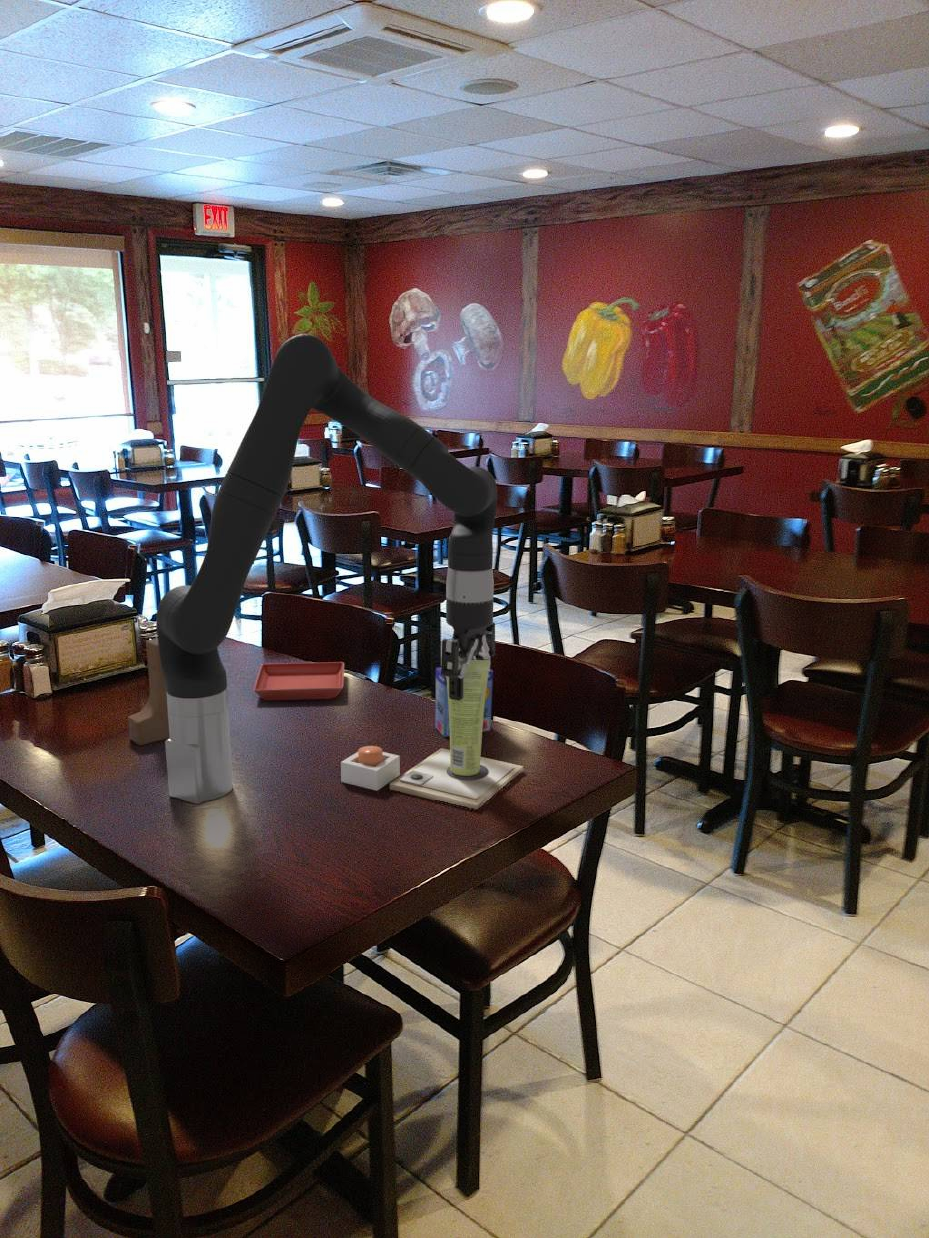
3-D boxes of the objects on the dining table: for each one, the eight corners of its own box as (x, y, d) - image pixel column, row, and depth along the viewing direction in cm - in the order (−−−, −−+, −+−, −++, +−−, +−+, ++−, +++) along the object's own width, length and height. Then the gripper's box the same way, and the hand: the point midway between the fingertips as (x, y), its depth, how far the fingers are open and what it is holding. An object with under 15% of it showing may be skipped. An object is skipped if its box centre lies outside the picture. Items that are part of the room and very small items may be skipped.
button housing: (376, 790, 157) (376, 770, 156) (341, 781, 160) (340, 762, 160) (399, 775, 163) (399, 755, 162) (364, 766, 166) (364, 747, 166)
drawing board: (477, 811, 151) (477, 802, 150) (389, 789, 158) (389, 780, 157) (523, 771, 165) (523, 763, 165) (441, 753, 172) (441, 745, 172)
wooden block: (139, 746, 174) (131, 650, 169) (128, 739, 177) (120, 644, 172) (186, 734, 180) (179, 641, 175) (175, 727, 183) (168, 635, 178)
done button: (374, 776, 159) (373, 757, 158) (353, 771, 161) (353, 752, 160) (387, 768, 162) (387, 748, 161) (367, 763, 164) (366, 744, 163)
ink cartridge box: (444, 738, 179) (444, 663, 175) (433, 728, 184) (433, 655, 180) (493, 731, 183) (494, 657, 179) (480, 721, 188) (482, 649, 184)
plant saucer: (261, 677, 213) (261, 662, 212) (344, 675, 215) (344, 660, 214) (253, 705, 196) (252, 689, 195) (343, 703, 198) (343, 687, 197)
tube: (470, 761, 166) (471, 652, 161) (489, 771, 162) (490, 659, 157) (443, 769, 162) (443, 658, 157) (462, 780, 158) (462, 666, 153)
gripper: (469, 607, 146) (468, 709, 151) (510, 588, 158) (508, 683, 163) (426, 601, 150) (426, 700, 154) (469, 583, 162) (468, 676, 166)
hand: (468, 691), depth 158 cm, fingers open, 8 cm apart
